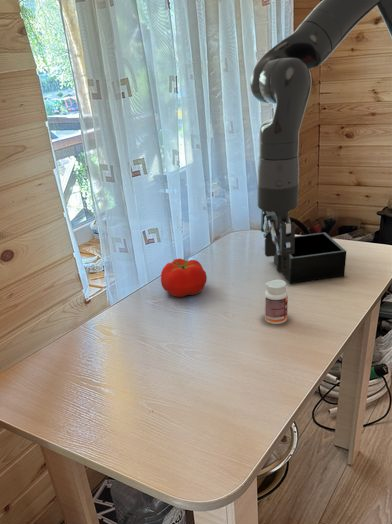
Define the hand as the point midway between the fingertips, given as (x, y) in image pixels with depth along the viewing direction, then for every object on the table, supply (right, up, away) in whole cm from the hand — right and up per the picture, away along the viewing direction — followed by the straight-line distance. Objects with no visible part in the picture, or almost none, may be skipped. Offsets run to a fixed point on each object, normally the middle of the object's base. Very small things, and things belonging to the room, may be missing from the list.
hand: (276, 263), depth 103 cm
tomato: (-19, -4, +21) cm, 29 cm away
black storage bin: (+12, +3, +27) cm, 30 cm away
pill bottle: (+1, -11, +7) cm, 13 cm away
